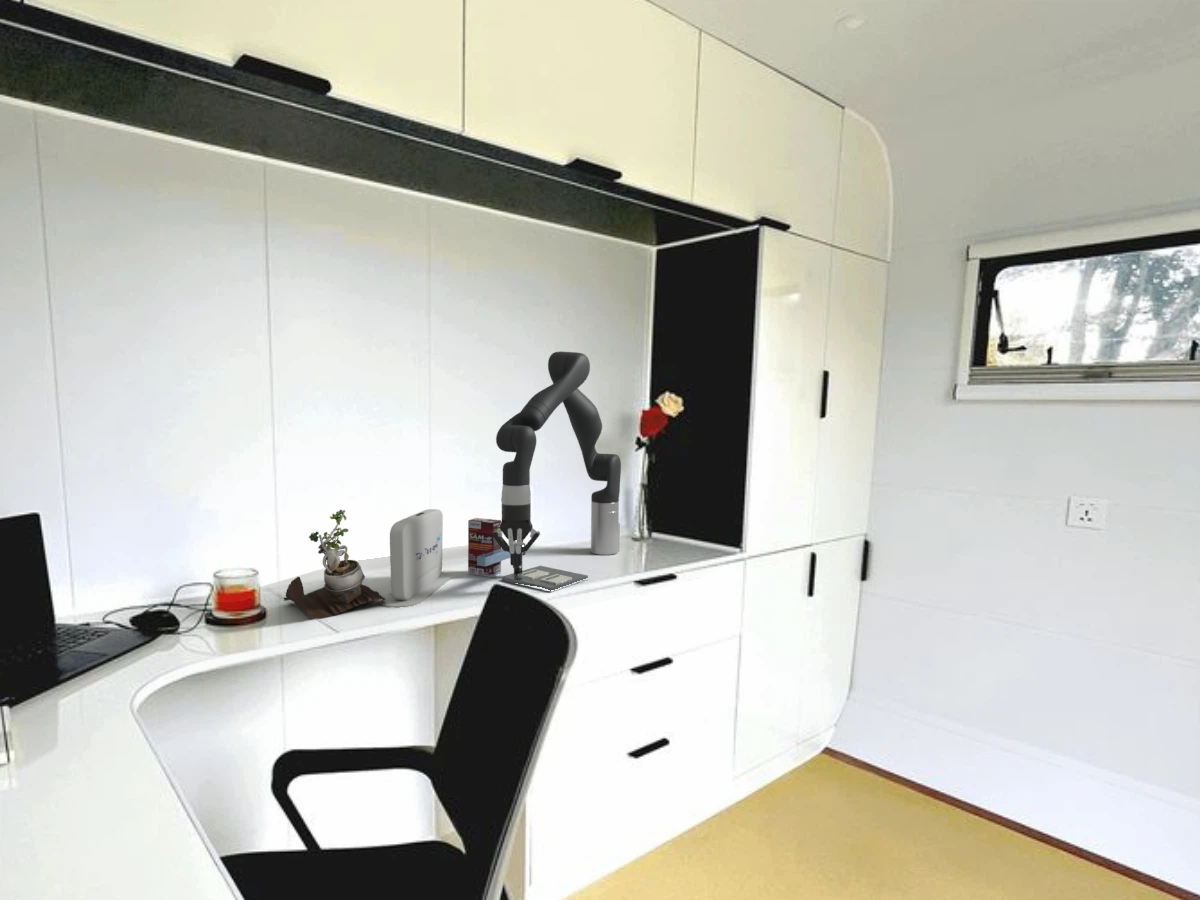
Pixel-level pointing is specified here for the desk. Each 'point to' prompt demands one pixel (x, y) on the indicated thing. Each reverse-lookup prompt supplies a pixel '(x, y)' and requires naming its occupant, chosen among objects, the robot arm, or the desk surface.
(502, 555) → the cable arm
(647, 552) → the desk surface
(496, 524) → the supplement box
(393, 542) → the wireless router
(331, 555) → the potted plant
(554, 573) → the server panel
